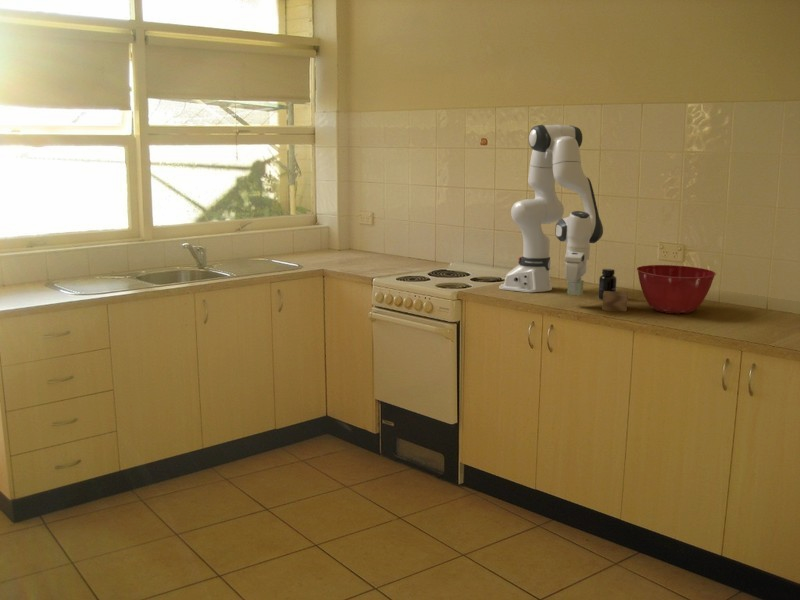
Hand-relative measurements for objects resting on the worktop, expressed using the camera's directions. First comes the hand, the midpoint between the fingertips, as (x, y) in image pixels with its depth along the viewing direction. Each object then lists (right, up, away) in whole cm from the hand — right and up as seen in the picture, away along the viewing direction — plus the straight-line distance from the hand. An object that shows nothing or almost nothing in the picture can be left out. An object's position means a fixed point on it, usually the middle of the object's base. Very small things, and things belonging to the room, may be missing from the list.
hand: (575, 289), depth 319 cm
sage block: (0, -2, 0) cm, 2 cm away
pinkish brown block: (+15, -8, -3) cm, 17 cm away
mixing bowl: (+36, -8, -6) cm, 37 cm away
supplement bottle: (+16, -4, +16) cm, 24 cm away
